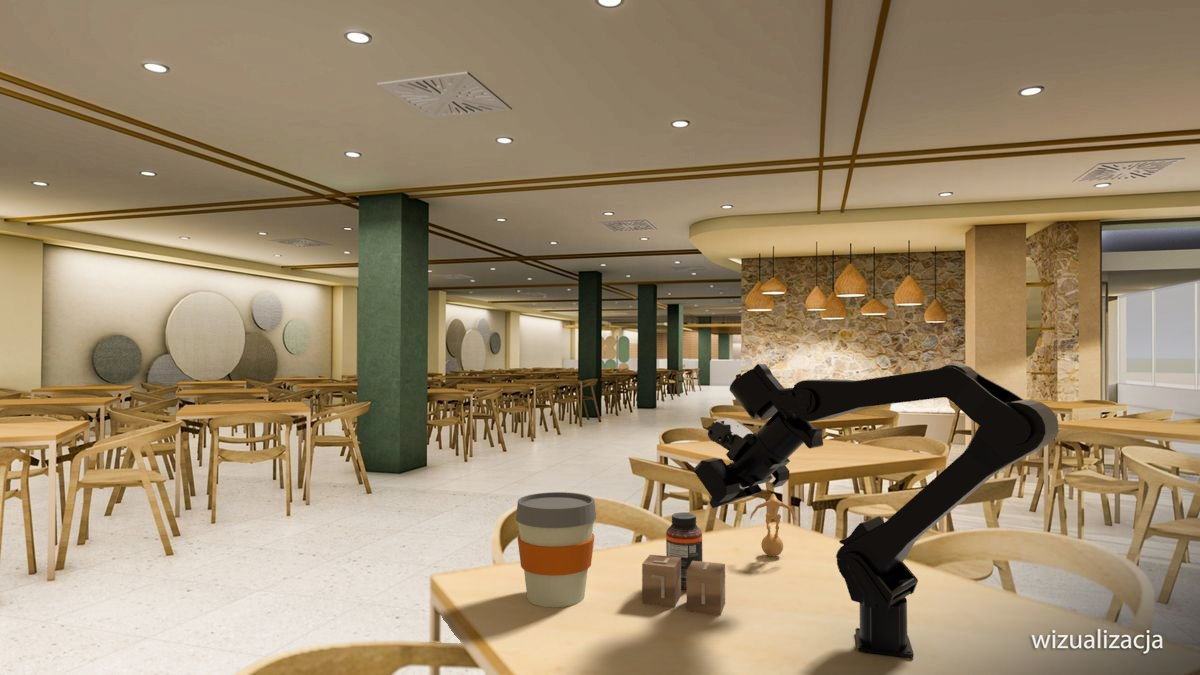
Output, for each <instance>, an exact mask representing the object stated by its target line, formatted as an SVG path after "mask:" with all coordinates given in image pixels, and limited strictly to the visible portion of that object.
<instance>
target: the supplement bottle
mask: <svg viewBox="0 0 1200 675" xmlns="http://www.w3.org/2000/svg"><path fill="white" fill-rule="evenodd" d="M665 536H666V537H665V542H666V544H665V545H666V546H665V547H666V548H665V550H666V552H665V553H666V555H665V556H670V557H681V590H687V572H686V571H687V569H688V567H689V566H690V564H691V562H692V561H701V562H704V561H703V532H702V530H701V528H700V527H698V525H697V515H696V514H694V513H691V512H683V511H681V512H676V513H673V514H672V515H671V524H670V526H669V527H668V528H667V530H666V533H665Z"/></svg>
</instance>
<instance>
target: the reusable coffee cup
mask: <svg viewBox="0 0 1200 675" xmlns="http://www.w3.org/2000/svg"><path fill="white" fill-rule="evenodd" d="M596 511H597V510H596V503H595V498H594V497H592V496H590V495H588V494H585V493H584V494H583V493H577V492H567V491H566V492H565V491H553V492H540V493H532V494H528V495H524V496H522V497H520V498H519V499H517V505H516V515H515V521H516V522H517V523H518V531H519V534H518V536H517V545H518V552H519V560H520V561H519V562H520V567H521V568H522V570H523V572H524V573H523V574H524V581H525V590H526V596H527V600H528V602H529V603H531V604H533V605H535V606H538V607H543V608H544V607H545V608H565V607H570V606H574V605H576V604H577V605H578V604H579V603H582V601H583V600H585V596H586V589H587V588H586V586H587V580H588V573H589V572H588V571H589V570H588V569H589V568H590V567H591V566H592V562H593V561H592V559H593V552H594V543H595V535H594V533H593V529H594V523H595V522H594V521H595V520H596V519H597V513H596Z"/></svg>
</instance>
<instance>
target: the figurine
mask: <svg viewBox="0 0 1200 675" xmlns="http://www.w3.org/2000/svg"><path fill="white" fill-rule="evenodd" d="M764 507H767V509H768V511H769V513H768V512H767V513H766V514H765V523H766V529H767V535H765V536H763V538H762V540H761V544H760V545H761V550H762V551H763V553H764V554H765V555H767V556H769V557H777V556H779V555H781V553H782V552H783V550H784V543H783V541H782V539H781V537H780V536H779V530H780V525H779V524H780V522H781V518H782V515H781V514H780V513H779V510H780V507H783V508H785V509H788V510H789V512H790V514H791V515H792V518H793V520H794V521H797V518H796V514H795V512H794V511H793V508H792V507H791V506H789V505H788V504H786V503H784V502H782V501H780V500H779V499H778V498H777V496H776V494H775V493H772V494H771V495H770V497H769V499H768V500H767V501H764V502H763V503H759V504H758V505H757V506H755V508H754V510H753V511H752V512H751V514H750V516H749V517H750V518H749V519H750V520H752V519H753V516H754V515H755V514H756V513H757V511H758V509H761V508H764ZM772 520H774V523H775V527H774V528H775V532H774V534H773V533H772V534H771V526H770V523H771V522H772Z"/></svg>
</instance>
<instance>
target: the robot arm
mask: <svg viewBox="0 0 1200 675" xmlns="http://www.w3.org/2000/svg"><path fill="white" fill-rule="evenodd" d="M729 392H730V393H731V395H733V397H734V398H735V399H736V400H737V402H738V403H739V404H740V406H741V407H742V408H743V409H744V411H745V412H746V413H747V414H748V416H749V417H750V418H751V419H752V420H758V419H760V420H761V421H766V422H765V424H764V425H763V426H761V427H760V429H759V430H758V431H757V432H756V433H755V432H754V433H753V432H752V430H750V429H749V428H747V427H746V426H744V425H743V424H741V423H740V422H738V421H737V420H735V419H732V418H728V417H727V418H720V419H716V420H715V421H712V423H711V425H708V426H707V431H708V432H707V437H708V438H709V440H710V441H711V442H713V443H716V444H717V445H720V446H721V447H722V448H723V449H725V450H727V452H726V454H725V455H726V457H727V458H728V459H729V461H732V462H729V464H726V463H725V461H724V459H722V458H717V457H713V458H707V459H701V461H699V462H698V463H697V465H696V466H695V467H694V469H693V470H694V471H693V472H694V474H695V475H696V476H697V478H698V479H699V481H700V482H701V483H702V485H703V487H704V488H705V490H706V491H707V492H708V493H709V495H710V496H711V497H710V500H709V501H708V502H709V503H708V504H709V505H710V507H711V508H712V509H716V508H718V507H721V506H725V505H728V504H730V503H733V502H736V501H739V500H742V499H745V498H749V497H751V496H754V495H757V494H761V493H762V491H763V490H762V488H761V487H760V485H761V484H765V483H769V482H770V481H771V480H772V479H773V478H774V480H773V481H772V482H771V486H772V488H773V489H776V488H779V487H783V485H785V484H786V483H787V482H788V481H789V480H790V470H789V468H788V467H787V466H786V465H788V464H789V463H790V462H791V460H790V459H789V458H790V457H791V456H792V454H794V452H796V451H797V450H798V449H799V448H800V447H801V446H802V445H803V444H804V445H805V446H806V448H808V449H815V448H820V447H823V446H824V440H823V429H822V427H818V428H817V427H814V426H813V425H812V423H811V422H817V421H825V420H830V419H835V418H838V417H842V416H844V415H845V416H846V415H847V414H850V413H851V414H852V413H853V412H856V411H859V410H861V409H865V408H868V407H874V406H882V405H891V404H893V405H894V404H901V403H907V402H919V401H924V400H935V399H941V398H946V399H948V400H949V401H951V402H952V403H953V404H954V405H956V407H957V408H958V409H960V411H962V413H964V414H965V415H966V416H967V417H968V418H969V419H971V420H972V421H973V422H974V423H975V424H977V425H978V426H979V427H978V428H977V430H976V431H975V432H974V434H973V436H972V438H971V440H970V441H969V443H968V444H967V447H966V449H965V450H964V451H963V453H962V454H960V455H959V456H958V457H957V458H955V459H954V460H953V462H951V463H950V464H949V465H948V466H946V468H945V469H944V470H942V471H941V472H940V473H939V474H938V475H937V476H936V477H934V479H932V480H931V481H930V482H929V483H928V484H926V485H925V486H924V487H923V488H922V489H921V490H920V491H919V492H918V493H916V494H915V495H914V496H913V497H912V498H911V499H910V500H909V501H907V502H906V503H905V504H904V505H903V506H902V507H901V508H899V509H898V510H897V511H896V512H895V513H894V514H893V515H891V517H890V518H888V519H887V520H886V521H885V522H884V520H883V519H882V517H881V516H880V515H878V516H874V517H873V518H869V519H866V520H865V521H863V522H859V524H857V525H856V526H855V528H854V530H853V531H852V532H851V533H850V535H849V536H847V537H845V538H843V539H841V540H839V543H840V544H841V545H842V546H840V547H839V548H838V550H837V553H836V554H835V558H836V565H837V568H838V571H839V573H840V575H841V577H842V578H843V579H844V582H845V585H846V587H847V590H848V593H849V596H850V600H851V601H853V602H856V603H859V627H856V628H855V638H856V646H857V650H858V651H860V652H865V653H873V654H879V655H880V654H881V655H888V656H894V657H895V656H896V657H902V658H903V657H904V658H911V659H912V658H914V654H915V653H914V650H913V647H912V644H911V641H910V638H909V636H908V599H907V598H906V597H907V596H909V595H912V594H914V592H915V591H916V590H915V589H916V588H917V585H918V582H919V580H918V577H917V576H915V574H914V573H913V572H912V570H911V569H910V568H909V567H908V566H907V565H906V563H904V561H905V559H906V558H907V557H908V556H909V554H910V552H911V550H912V549H913V547H914V544H915V543H916V542H917V541H918V539H920V538H921V537H922V536H923V535H924V534H926V533H927V532H928V531H929V530H931V529H932V528H933V527H934V526H935V525H936V524H937V523H938V522H940V521H941V520H942V519H943V518H945V516H947V515H948V514H949V513H950V512H952V511H953V510H954V509H955V508H957V506H959V505H960V504H962V503H963V502H964V501H965V500H966V499H967V498H968V497H970V495H972V494H973V493H974V492H975V491H977V490H978V489H979V488H980V487H981V486H982V485H984V484H985V483H986V482H987V481H988V480H990V479H991V478H992V477H993V476H995V475H996V474H997V473H998V472H1000V471H1002V470H1004V469H1006V468H1008V467H1009V466H1012V465H1014V464H1016V463H1018V462H1019V461H1021V460H1022V459H1024V458H1027V457H1029V456H1030V455H1032V454H1034V453H1036V452H1038V451H1039V450H1042V449H1043V448H1045V447H1047V446H1049V445H1050V444H1051V443H1052V442H1054V440H1055V439H1056V438H1057V436H1058V434H1059V421H1058V418H1057V415H1056V413H1055V412H1054V411H1053V410H1052V409H1051V408H1050V407H1049V405H1046V404H1044V403H1043V402H1041V401H1038V400H1034V399H1023V398H1021V396H1018V395H1017V394H1015V393H1014V392H1013V391H1011V390H1009V389H1008V388H1005V387H1003V386H1001V385H999V384H997V382H996V383H995V382H994V381H992V380H990V379H988V378H987V377H985V376H983V375H982V374H980V373H979V372H977V371H975V369H973V368H972V367H971V366H968V365H966V364H947V365H944V366H942V367H939V368H934V369H928V370H921V371H914V372H908V373H900V374H894V375H886V376H881V377H875V378H868V379H860V380H855V379H854V380H853V379H852V380H851V379H832V378H830V379H829V378H828V379H827V378H823V379H808V380H801V381H797V382H796V383H795V384H794V385H793V387H786V388H785V387H784V386H783V385H782V384H781V383H780V381H778V379H777V378H776V376H774V374H773V372H772V371H771V369H770V368H769V367H768V365H767V364H765V363H759V364H758V363H757V364H756V365H755V366H754V367H753V368H752V369H749V370H748V371H746V372H744V373H742V374H741V375H740V376H736V378H735V379H734V380H733V381H732V383H730V386H729Z"/></svg>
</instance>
